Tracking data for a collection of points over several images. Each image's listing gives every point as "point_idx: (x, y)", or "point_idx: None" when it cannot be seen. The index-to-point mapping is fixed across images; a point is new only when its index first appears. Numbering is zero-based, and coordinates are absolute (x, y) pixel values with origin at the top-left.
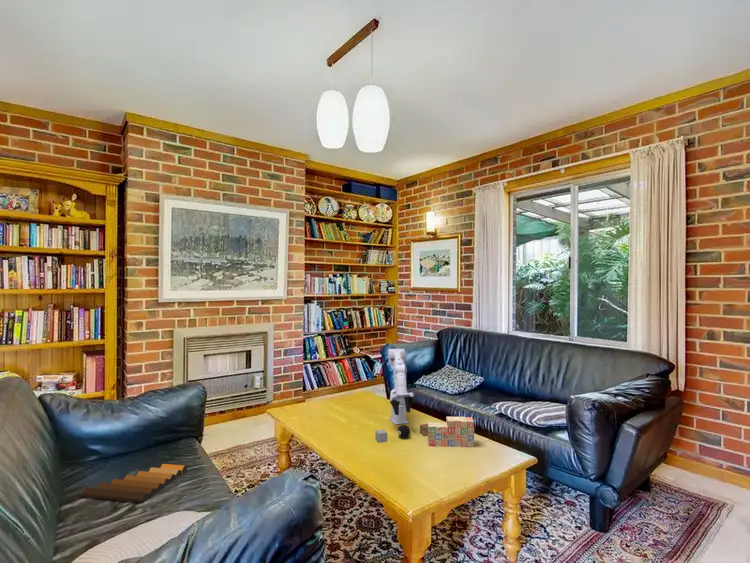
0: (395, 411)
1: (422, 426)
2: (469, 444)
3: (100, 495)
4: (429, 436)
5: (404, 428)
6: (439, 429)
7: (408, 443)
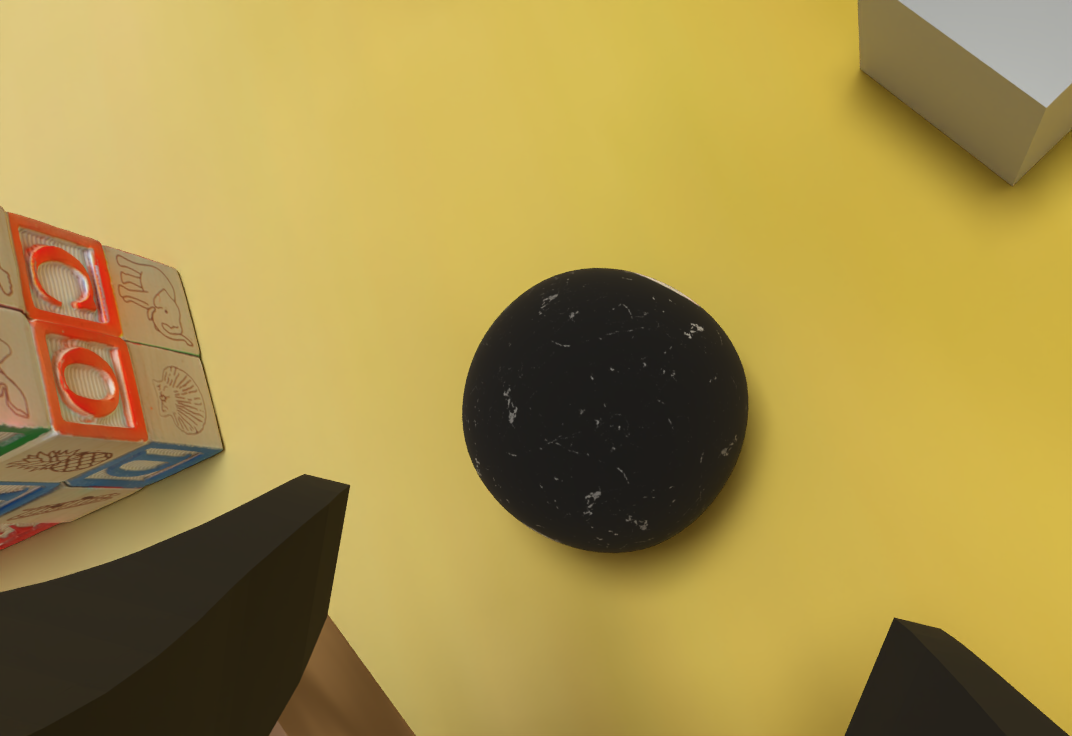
0: (941, 674)
1: None
2: None
3: None
4: (45, 232)
5: (525, 307)
6: None
7: (468, 200)
